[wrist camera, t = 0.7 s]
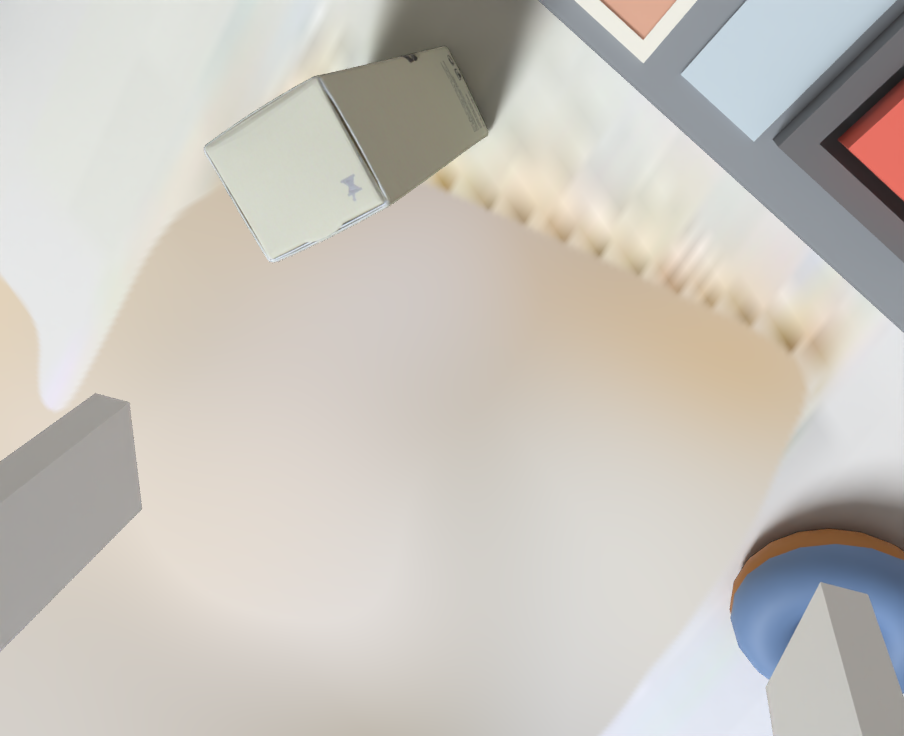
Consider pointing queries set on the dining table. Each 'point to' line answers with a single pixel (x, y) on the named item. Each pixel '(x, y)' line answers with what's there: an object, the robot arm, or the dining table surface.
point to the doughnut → (795, 581)
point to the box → (344, 147)
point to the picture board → (774, 108)
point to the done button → (881, 139)
